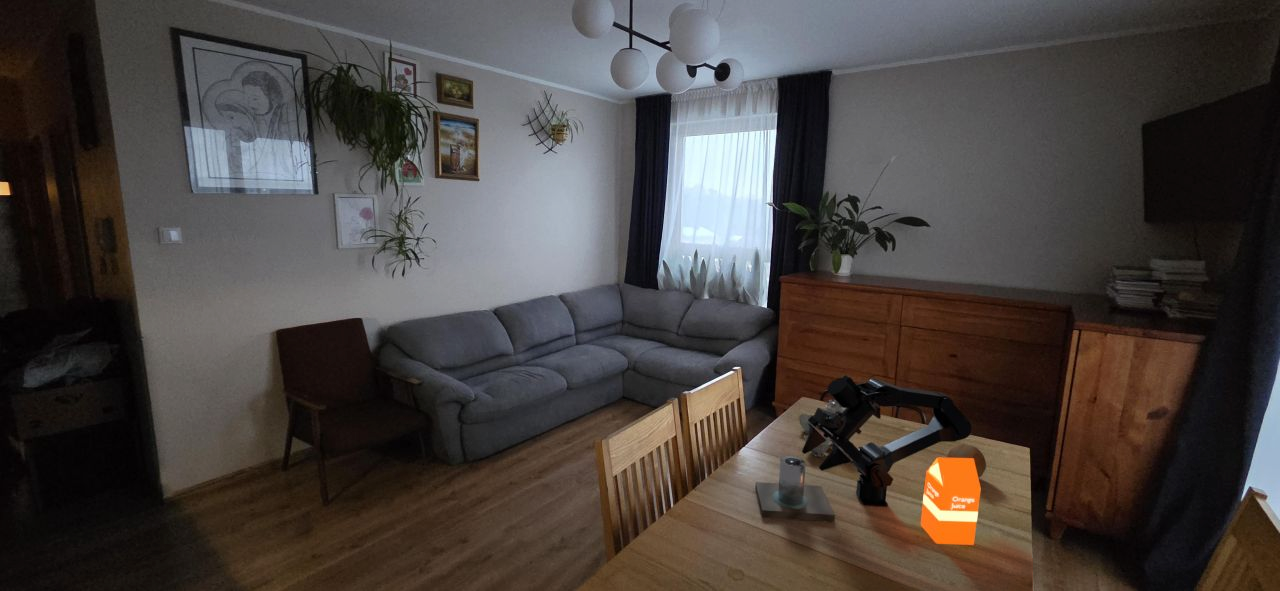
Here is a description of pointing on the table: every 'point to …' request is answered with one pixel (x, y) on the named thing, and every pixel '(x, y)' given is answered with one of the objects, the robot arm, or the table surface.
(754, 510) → the table surface
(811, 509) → the walnut board
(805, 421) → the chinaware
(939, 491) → the orange juice
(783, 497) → the silver metal cylinder
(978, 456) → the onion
